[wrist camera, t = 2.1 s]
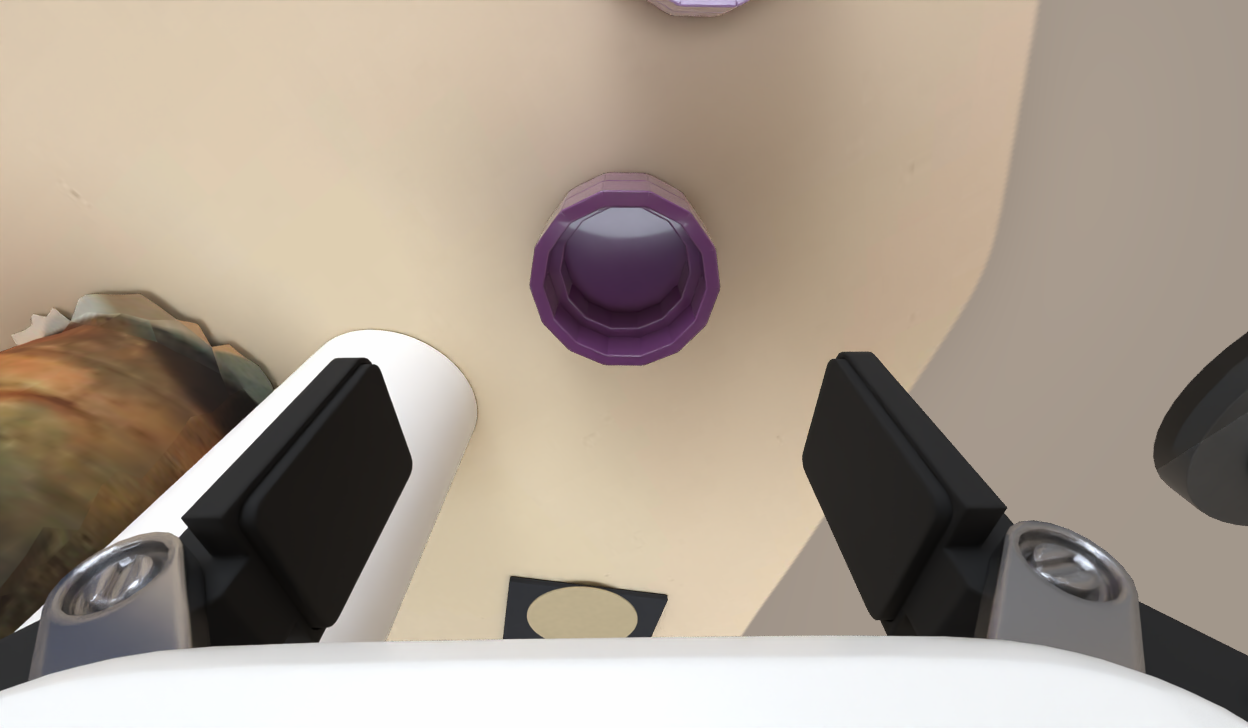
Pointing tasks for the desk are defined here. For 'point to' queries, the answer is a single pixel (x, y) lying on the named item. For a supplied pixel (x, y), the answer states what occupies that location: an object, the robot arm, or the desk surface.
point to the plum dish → (625, 270)
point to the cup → (437, 439)
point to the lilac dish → (697, 6)
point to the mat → (578, 611)
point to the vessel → (102, 431)
